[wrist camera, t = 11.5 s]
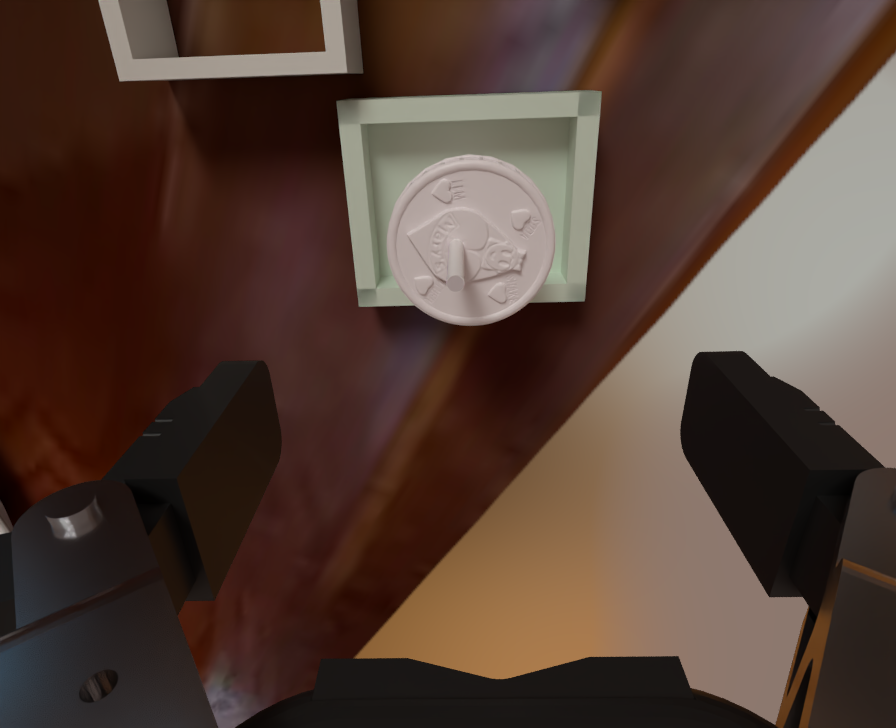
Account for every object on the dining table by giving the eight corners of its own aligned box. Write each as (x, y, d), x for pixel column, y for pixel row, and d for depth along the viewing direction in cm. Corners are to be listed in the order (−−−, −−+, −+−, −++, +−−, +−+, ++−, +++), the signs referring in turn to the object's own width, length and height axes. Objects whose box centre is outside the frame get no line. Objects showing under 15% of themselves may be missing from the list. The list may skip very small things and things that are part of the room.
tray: (366, 288, 33) (359, 306, 30) (347, 98, 28) (336, 100, 26) (574, 282, 33) (584, 301, 30) (588, 90, 28) (601, 91, 25)
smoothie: (420, 118, 28) (387, 153, 15) (545, 149, 28) (611, 206, 16) (396, 243, 31) (353, 358, 18) (510, 269, 31) (544, 398, 19)
